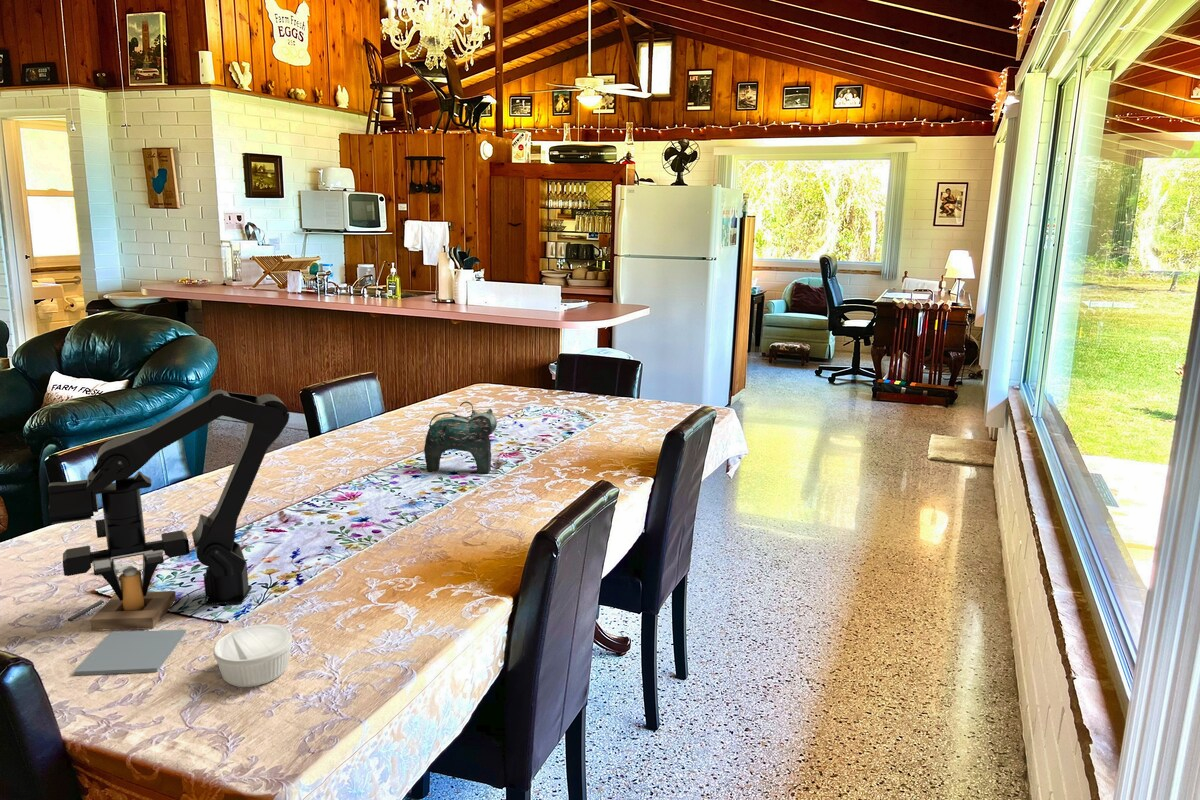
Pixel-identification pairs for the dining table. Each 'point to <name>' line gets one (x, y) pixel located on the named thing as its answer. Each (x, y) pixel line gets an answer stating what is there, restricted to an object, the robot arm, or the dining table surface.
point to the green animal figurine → (461, 438)
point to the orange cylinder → (132, 590)
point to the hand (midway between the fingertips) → (133, 597)
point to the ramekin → (253, 654)
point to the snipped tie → (85, 610)
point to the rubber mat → (131, 652)
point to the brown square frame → (133, 612)
